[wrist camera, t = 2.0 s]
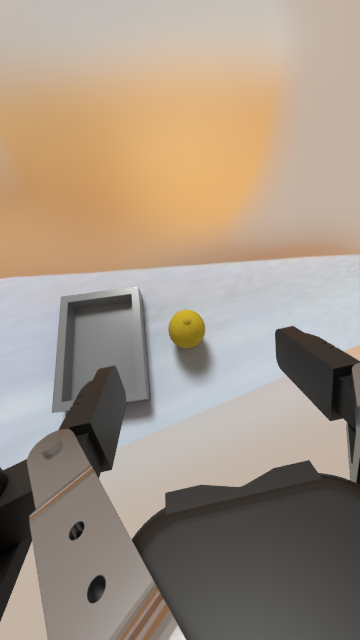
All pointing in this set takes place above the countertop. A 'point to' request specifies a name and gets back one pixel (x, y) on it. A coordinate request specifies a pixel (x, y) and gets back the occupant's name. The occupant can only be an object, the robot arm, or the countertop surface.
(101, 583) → the robot arm
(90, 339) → the tray
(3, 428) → the countertop surface
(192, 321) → the lemon
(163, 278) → the countertop surface
